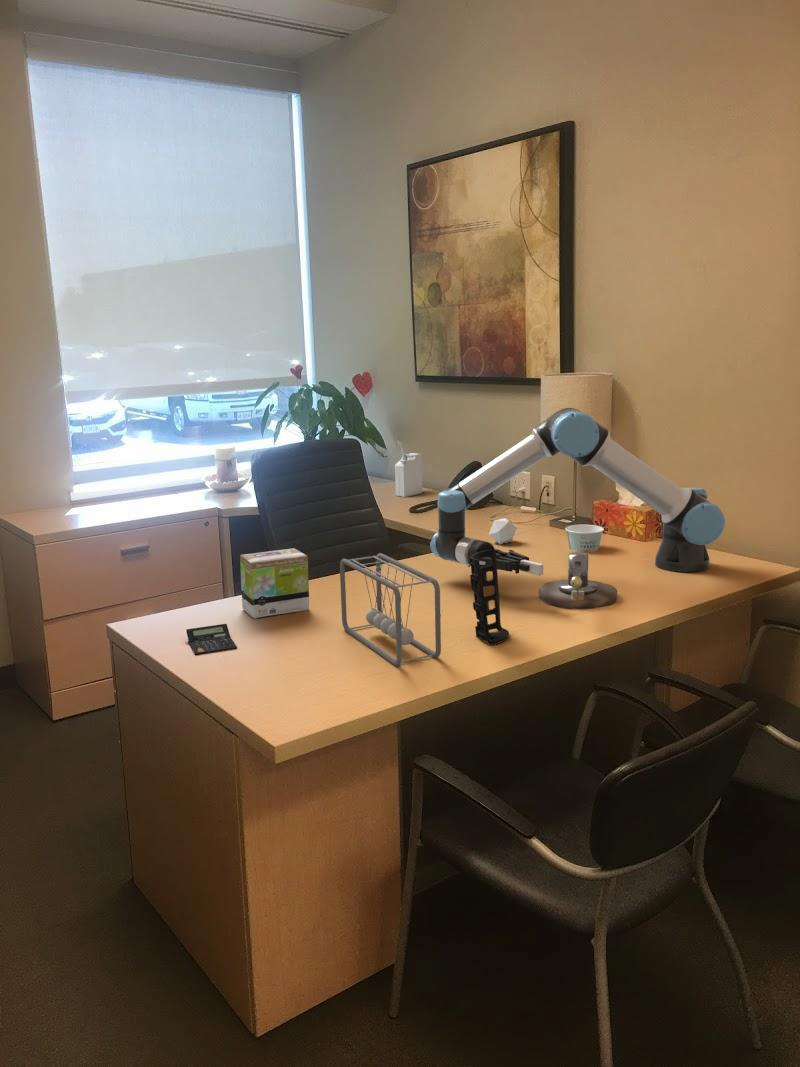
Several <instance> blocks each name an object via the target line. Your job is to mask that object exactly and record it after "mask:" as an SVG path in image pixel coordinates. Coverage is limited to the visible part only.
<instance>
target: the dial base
mask: <svg viewBox="0 0 800 1067" xmlns="http://www.w3.org/2000/svg"><path fill="white" fill-rule="evenodd" d="M565 580H566V579H559V580H553V581H549V582H546V583H543V584H542V585H540V586H539V588H538V599H539V600H540V599H541V600H542V601H541V600H540V601H541V602H543V603H545V604H547V605H550V606H554V607H558V608H563V609H569V610H570V609H573V610H593V609H600V608H606V607H609V606H612V605H614V604H615V603H616V602H617V600H618V590H617V588H616V587H614V586H612V585H611V584H609V583H605V582H601V581H596V580H589V579H588V581H592V582H594V583H596V584H597V585H598V588H597V591H595V592H593V593H588V594H584V591H578V594H577V591H576V590H574V591H571V593H566V592H563V591H560V590H559V589H558V584H559V583H560V582H561V581H565Z"/></svg>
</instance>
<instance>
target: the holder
mask: <svg viewBox="0 0 800 1067" xmlns="http://www.w3.org/2000/svg"><path fill="white" fill-rule="evenodd" d="M485 557H491V560H492V564H491V565H490V566H486V567H481V568H480V564H479V559H480V558H485ZM469 558H470V562H469V564H470V565H471V566H470V569H471V570H470V571H471V574H470V576H469V577H470V586H471V587H470V588H471V591H472V592H473V598H474V602H472V608H473V609H472V610H474V612H475V617H476V619H477V621H476V625H475V626H474V628H475V637H476V638H477V637H478V639H479V640H481V641H483V642H486V643H487V644H488V645H489V646H494V645H497V644H499V643H502V642H503V641H505V640H506V639H508V638H509V637H510V631H509V630H508V629H506V628H504V627H502V625H501V624H502V623H501V606H500V604H501V603H500V592H499V577H498V576H499V575H498V569H497V560H496V550H494V549H490V550H485V551H481V552H477V553H475V554H474V555H472V556H471V557H469ZM489 572H492V573H491V574H492V579H490V580H488V577H487V575H488V574H487V573H489ZM488 587H493V593H492V594H488V595H485V593H484V588H488ZM490 601H493V602H494V608H490V605H489V604H490V603H489V602H490ZM491 615H493V616H494V615H495V621H494V622H492V623H489V622H488V616H491ZM492 630H497V632H496V631H495V632H494V631H493V632H492ZM490 631H491V632H490Z"/></svg>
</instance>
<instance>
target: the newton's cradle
mask: <svg viewBox="0 0 800 1067" xmlns="http://www.w3.org/2000/svg"><path fill="white" fill-rule="evenodd" d="M373 558H374V559H375V567H374V566H373V568H372V567H367V566H366V563H363V564H362V563H360V562H359V561H361V560H366V559H373ZM371 564H373V562H370V563H368V565H371ZM383 564H386V567H388V570H386V572H387V575H383V574H382V572H384V570H382V568H384V565H383ZM345 565H346V566H348V567H350V568H352V569H353V570H355V571H357V572H358V573H361V574H363V576H364V578H365V584H366V587H367V593H368V597H369V603H370V605H371V607H370V608H371V609H369V610H368V611H367V612H366V615H365V619H366V621H367V623H368V624H364V625H359V626H353V627H349V624H348V620H347V618H348V616H347V598H346V596H347V594H346V593H347V592H346V570H345V569H346V567H345ZM390 567H391V568H393V569H392V571H395V570H396V571H395V574H393V576H394V579H391V578H389V576H392V574H390V573H389V572H390V571H391V569H390ZM374 569H375V570H374ZM398 571H399V572H401V573H399V575H402V574H403V578H402V584H401V583H399V582H397V581H398V580H400V578H398V579H397V575H398V573H397V572H398ZM406 575H408V576H409V577H408V579H409V578H410V579H411V578H412V579H411V583H408V584H407V583H406V584H405V579H406V577H405V576H406ZM339 576H340V577H339V578H340V603H341V607H340V608H341V622H342V627H343V629H344V630H345V631H346V632H347V633H348V634H349V635H351V636H352V637H354V638H355V639H356V640H359V642H361V643H362V644H364V645H365V646H367V647H368V648H369V649H371V650H372V651H374V652H375V653H376V654H378V655H379V656H380V657H382V658H383V659H385V660H386V661H387V662H389V663H390V664H392V665H393V666H396V667H398V666H401V664H402V663H406V662H407V663H408V662H411V661H416V660H421V659H426V658H431V657H432V658H434V659H437V658H439V657H440V655H441V652H442V643H441V642H442V640H441V639H442V637H441V635H442V632H441V625H442V624H441V590H440V589H441V587H440V584H439V581H438V580H437V579H436V578H434V577H432V576H430V575H428V574H425V573H423V572H422V571H419V570H418V569H415V568H413V567H411V566H410V565H407V564H405V563H402V562H401V561H399V560H396V559H394V558H392V557H391V556H388V555H386V554H384V553H381V552H379V553H378V554H376V555H373V556H365V557H360V558H359V557H358V558H351V559H347V558H342V559H341V560H340V563H339ZM367 577H369V578H370V579H371V582H372V587H373V591H374V592H373V593H374V597H375V604H374V608H373V605H372V601H371V600H372V599H371V596H370V595H371V594H370V591H369V586H368V581H367ZM414 579H416V580H417V582H413V581H414ZM374 581H375V582H376V589H375V585H374ZM418 581H419V582H418ZM428 583H431V584H432V585H433V588H434V619H435V620H434V624H435V625H434V626H435V627H434V628H435V629H434V630H435V632H434V633H435V635H434V636H435V651H434V650H432V649H431V648H430V647H427V646H425V645H424V644H423V643H421V642H420V641H418V640H416V639H414V632H413V631H412V630H411V628H409V627H408V619H409V612H410V605H411V596H412V588H413V586H415V585H421V584H428ZM382 586H385V589H384V596H383V593H382ZM409 586H410V593H409V599H408V600H409V602H408V607H407V613H406V614H407V615H406V624H405V626H404V624H403V620H402V606H401V605H402V598H403V595H402V594H403V589H404V587H409ZM399 588H401V591H400V589H399ZM389 589H391V590H392V591H393V592H392V595H394V596H392V598H390V593H389ZM386 592H387V595H388V599H389V605H390V610H389V616H387V611H386V606H385V601H386V600H385V598H386ZM393 599H394V600H393ZM393 601H394V602H395V603H394V604H395V605H394V606H395V611H394V612H395V618H394V612H393ZM382 602H383V603H382ZM384 612H385V613H384ZM391 614H392V617H391ZM371 626H374V628H376V629H377V630H379V631H380V630H381V632H382V633H383V634H385V635H388V636H389V637H390V638H391V639H393V640H395V641H396V642H395V643H396V644H395V645H396V647H395V648H396V659H395V658H394V657H393V656H391V655H389V653H387V652H385V651H384V650H382V649H381V648H380V647H378V646H377V645H375V644H374V643H372V642H371V641H369V640H368V639H367V638H366V637H364V636H362V635H361V634H360V633H358V632H357V631H355V629H361V628H366V627H371ZM410 644H412V645H413V646H415V647H416V648H418V649H419V650H421V651H423V652H425V653H426V654H427V655H423V656H418V657H414V658H409V659H404V660H403V647H402V646H408V645H410Z"/></svg>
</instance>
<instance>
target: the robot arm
mask: <svg viewBox="0 0 800 1067" xmlns="http://www.w3.org/2000/svg"><path fill="white" fill-rule="evenodd" d="M559 453H561V454H563V455H564V456H567V457H569V458H570V459H572V460H573V461H575V462H576V463H577V464H579V465H580V466H582V467H586V466H592V467H593V468H595V469H596V470H597V471H599V472H600V473H602V474H603V475H605V476H606V477H608V479H610V480H611V481H614V482H615V483H617V484H618V485H619V486H620V487H622V488H623V489H624V490H626V491H627V492H629V493H631V494H632V495H633V496H635V497H636V498H638V499H639V500H640V501H642V502H643V503H645V504H646V505H648V506H649V507H651V509H653V510H655V511H656V512H657V513H659V514H660V515H661V521H662V539H661V542H660V545H659V546H658V550H657V552H656V554H655V560H654V562H655V563H654V565H655V566H656V567H658V568H660V569H663V570H666V571H670V572H671V571H672V572H683V573H693V572H694V573H695V572H702V571H706V570H708V569H709V568H710V560H711V559H710V556H709V553H708V552H709V551H708V549H707V546H706V545H709V544H712V543H714V542H715V541H717V539H719V538H720V536H721V535H722V533H723V531H724V530H725V526H726V518H725V515H724V513H723V511H722V510H721V508H720V507H719V506H718V505H717V504H715V503H712V502H711V501H709V500H708V494H707V493H708V492H707V489H705V488H703V487H679V486H678V485H676V484H675V483H674V482H672V481H671V480H670V479H668V478H667V477H665V476H663V474H661V473H659V472H658V471H656V470H655V469H654V468H653V467H652V466H649V465H648V464H646V463H645V462H644V461H642V460H641V459H640V458H638V457H637V456H635V455H634V454H633V453H631V452H630V451H628V450H627V449H625V447H622V446H621V445H620V444H618V443H617V442H616V441H614V440H612V439H611V434H610V430H608V429H607V428H606V427H605V426H602V424H600V423H599V422H597V421H596V420H595V419H594V418H593V417H591V415H589V414H588V413H585V412H584V411H581V410H579V409H577V408H574V407H573V408H572V407H564V408H561V409H559V410H557V411H556V412H554V413H552V414H551V415H550V416H549V417H547V418H546V419H545V420H544V421H542V422H541V423H539V424H538V425H537V426H535V427H533V429H532V432H531V434H529V436H527V437H525V438H523V439H522V440H520V441H519V442H518V443H516V444H515V445H513V446H511V447H510V448H509V449H508V450H506V451H504V452H502V453H501V454H500V455H498V456H497V457H496V458H493V459H492V460H491V461H489V462H487V463H486V464H485V465H483V466H482V467H480V468H479V469H477V470H476V471H475V472H472V473H470V475H468V476H467V477H466V478H464V479H463V480H461V481H459V482H458V483H457V484H455V485H453V486H452V487H449V488H446V489H444V490H442V491H440V492H439V493H438V496H437V522H438V531H437V532H435V534H434V535H433V536H432V538H431V541H430V542H429V543H430V550H431V552H432V554H433V555H434V556H435V557H438V558H440V559H442V560H444V561H450V562H455V563H459V564H462V565H466V567H467V568H471V565H470V564H469V562H470V558H469V557H471V556H472V555H474V554H475V553H477V552H481V551H485V550H490V549H494V550H496V560H497V571H506V572H509V573H512V572H513V571H515V574H516V575H517V574H520V572H522V573H523V572H524V573H528V574H531V575H536V576H538V577H539V576H543V575H544V566H545V565H544V563H540V562H535V561H532V560H530V557H529V556H526V555H523V554H521V553H519V552H515V551H514V550H513V549H509V550H508V551H502V550H501V549H498V548H497V549H496V548H495V546H494V545H493V544H492V542H489V541H486V540H481V539H477V538H473V537H468V536H466V510H467V509H468V508H471V506H473V505H475V504H476V503H477V502H479V501H480V500H482V499H483V498H485V497H486V496H488V495H489V494H491V493H493V492H494V491H495V490H497V489H498V488H500V487H501V486H503V485H505V484H506V483H507V482H509V481H511V480H512V479H513V478H515V477H516V476H519V474H521V473H523V472H524V471H527V469H529V468H530V467H532V466H533V465H535V464H537V463H538V462H540V461H541V460H543V459H545V458H546V457H550V458H552V457H554V456H556V455H557V454H559ZM479 564H480V568H481V567H486V566H490V565H491V564H492V560H491V557H485V558H480V559H479Z"/></svg>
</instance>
